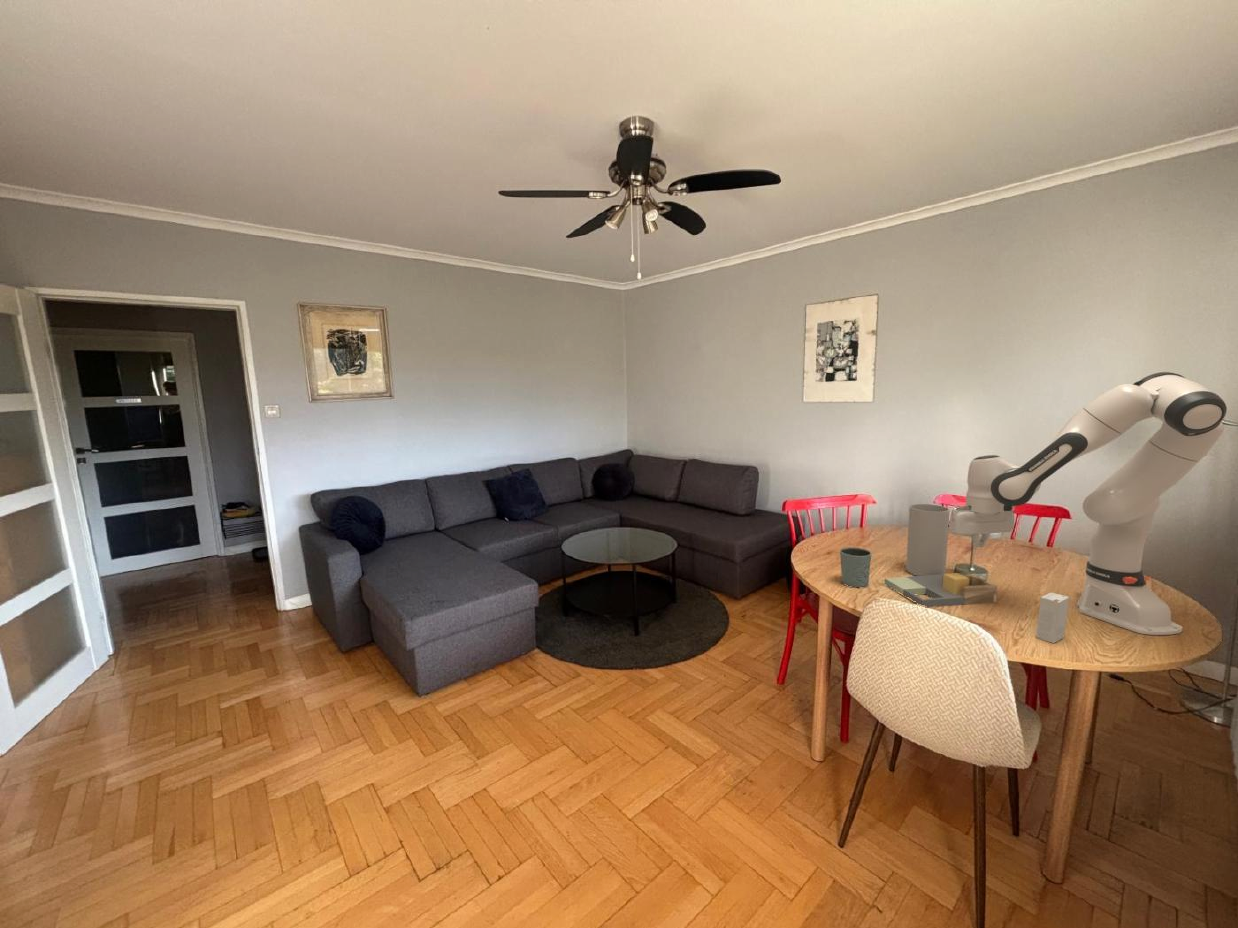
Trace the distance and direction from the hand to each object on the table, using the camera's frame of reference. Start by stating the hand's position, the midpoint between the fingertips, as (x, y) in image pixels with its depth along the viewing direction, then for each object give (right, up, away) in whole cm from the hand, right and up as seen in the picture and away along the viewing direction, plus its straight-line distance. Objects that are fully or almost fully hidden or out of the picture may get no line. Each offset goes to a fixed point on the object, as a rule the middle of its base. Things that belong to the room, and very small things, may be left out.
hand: (979, 546), depth 161 cm
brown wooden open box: (-2, -17, +2) cm, 17 cm away
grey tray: (-10, -17, +6) cm, 20 cm away
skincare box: (+1, -21, -26) cm, 33 cm away
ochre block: (-7, -15, +1) cm, 16 cm away
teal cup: (-33, -16, +16) cm, 40 cm away
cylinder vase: (-3, -14, +24) cm, 28 cm away
